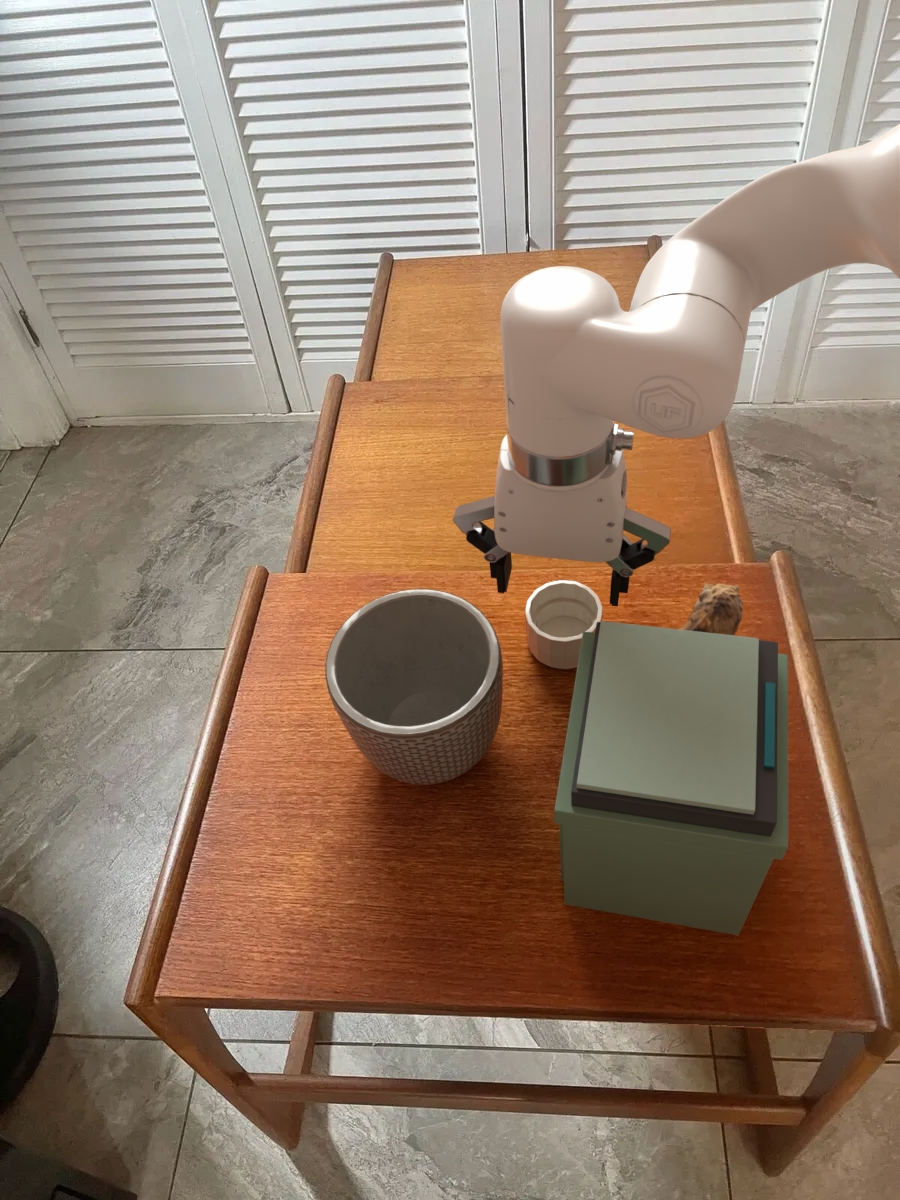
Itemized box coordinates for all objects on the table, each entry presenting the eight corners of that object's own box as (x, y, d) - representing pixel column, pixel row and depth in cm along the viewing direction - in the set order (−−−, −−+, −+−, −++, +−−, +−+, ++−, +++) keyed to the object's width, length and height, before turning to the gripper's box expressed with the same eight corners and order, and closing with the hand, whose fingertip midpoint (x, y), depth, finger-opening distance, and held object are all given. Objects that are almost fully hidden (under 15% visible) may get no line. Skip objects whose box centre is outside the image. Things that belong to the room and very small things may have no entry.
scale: (772, 658, 62) (779, 636, 60) (771, 837, 54) (778, 819, 52) (596, 638, 64) (596, 616, 62) (571, 806, 57) (571, 787, 55)
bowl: (604, 616, 86) (606, 584, 82) (596, 676, 82) (597, 645, 78) (534, 608, 88) (532, 576, 84) (522, 667, 84) (519, 636, 80)
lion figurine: (707, 622, 84) (720, 560, 77) (747, 661, 81) (763, 600, 74) (578, 698, 81) (579, 641, 74) (615, 742, 78) (619, 687, 71)
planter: (338, 701, 84) (306, 618, 73) (480, 653, 85) (467, 566, 75) (378, 834, 75) (347, 762, 65) (534, 779, 77) (528, 699, 66)
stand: (750, 768, 75) (788, 654, 62) (745, 937, 67) (788, 847, 54) (581, 744, 78) (583, 630, 65) (557, 903, 70) (554, 810, 57)
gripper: (686, 414, 65) (664, 564, 79) (453, 397, 69) (470, 544, 82) (679, 488, 61) (657, 634, 75) (431, 466, 65) (453, 609, 78)
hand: (559, 586), depth 78 cm, fingers open, 9 cm apart
